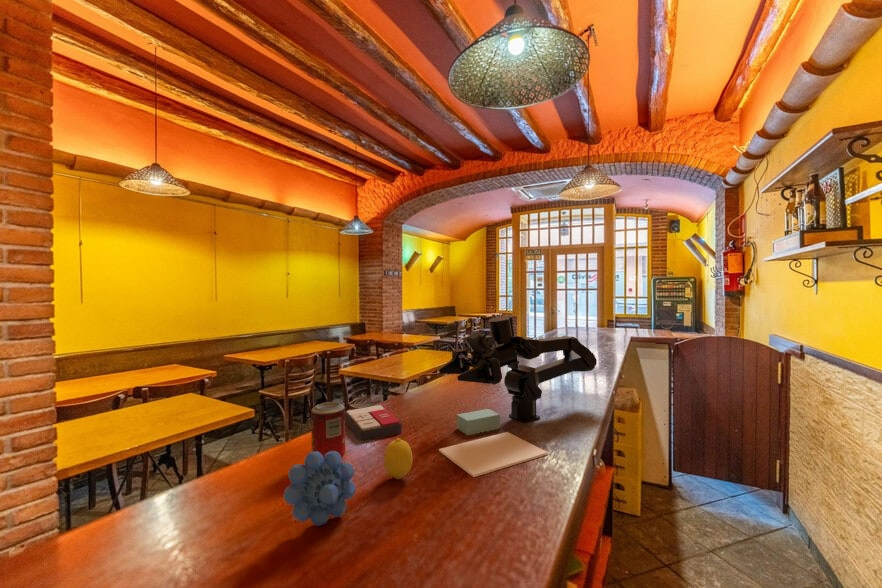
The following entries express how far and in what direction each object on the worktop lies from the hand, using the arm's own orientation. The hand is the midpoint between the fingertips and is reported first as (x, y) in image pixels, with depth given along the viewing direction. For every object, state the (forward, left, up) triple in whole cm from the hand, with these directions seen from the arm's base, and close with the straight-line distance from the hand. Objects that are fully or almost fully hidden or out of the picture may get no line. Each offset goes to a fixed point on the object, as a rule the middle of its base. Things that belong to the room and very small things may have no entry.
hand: (448, 374), depth 96 cm
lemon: (+20, +14, -16) cm, 29 cm away
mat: (-3, +14, -15) cm, 21 cm away
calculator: (+15, -15, -16) cm, 27 cm away
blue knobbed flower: (+36, +22, -16) cm, 45 cm away
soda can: (+30, -1, -16) cm, 34 cm away
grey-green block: (-9, 0, -16) cm, 18 cm away
